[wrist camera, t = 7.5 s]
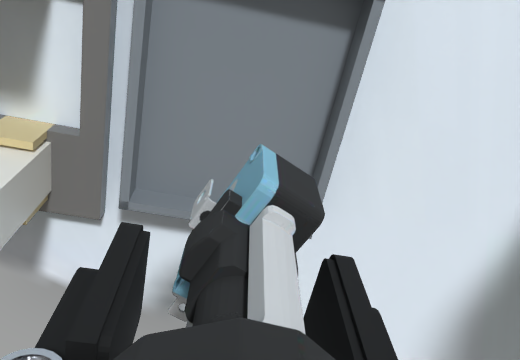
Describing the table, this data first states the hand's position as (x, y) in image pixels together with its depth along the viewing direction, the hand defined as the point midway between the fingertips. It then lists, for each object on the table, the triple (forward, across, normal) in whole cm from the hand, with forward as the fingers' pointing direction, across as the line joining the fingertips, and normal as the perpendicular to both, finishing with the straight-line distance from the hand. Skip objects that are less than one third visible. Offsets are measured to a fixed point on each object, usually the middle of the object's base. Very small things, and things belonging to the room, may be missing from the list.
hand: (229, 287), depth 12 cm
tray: (+18, 0, 0) cm, 18 cm away
